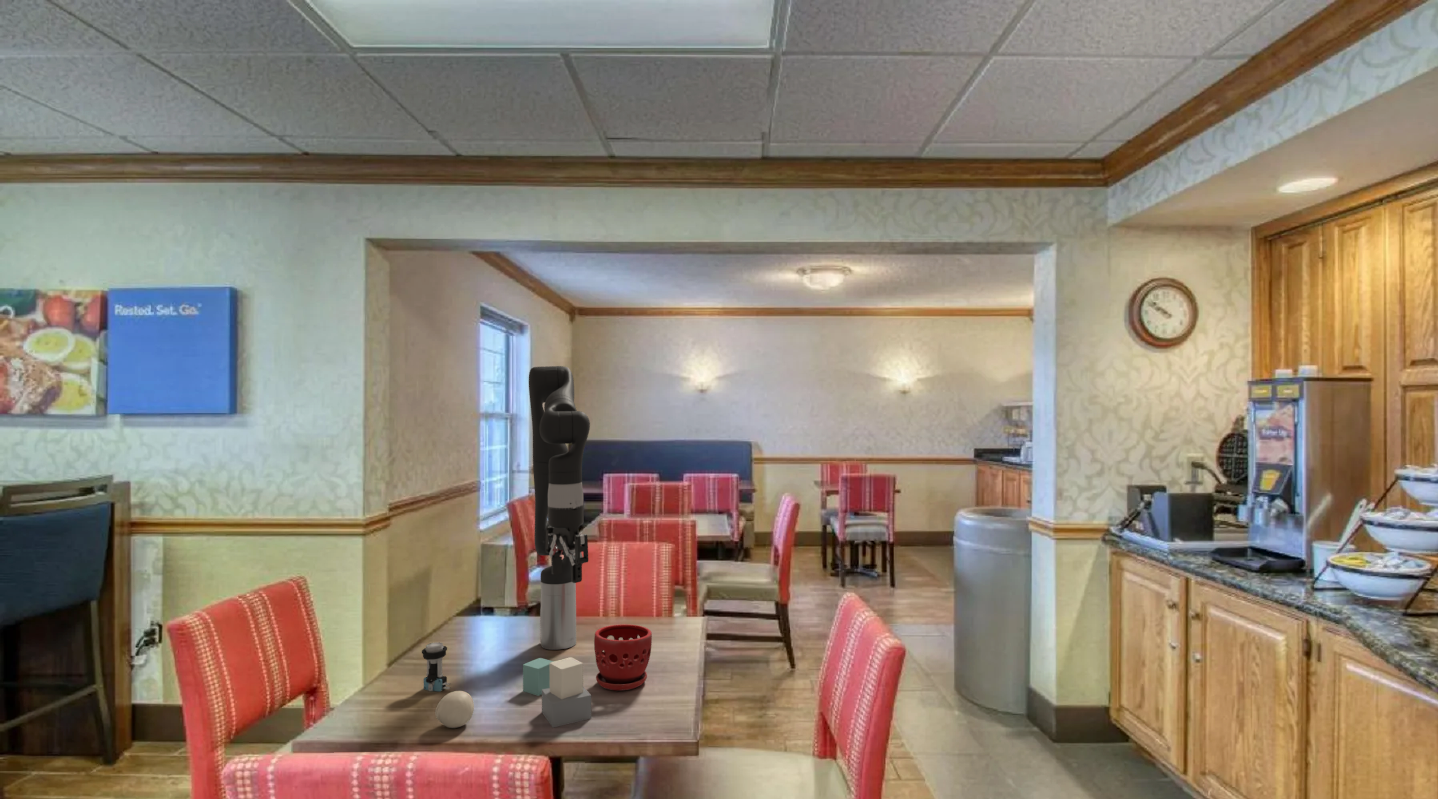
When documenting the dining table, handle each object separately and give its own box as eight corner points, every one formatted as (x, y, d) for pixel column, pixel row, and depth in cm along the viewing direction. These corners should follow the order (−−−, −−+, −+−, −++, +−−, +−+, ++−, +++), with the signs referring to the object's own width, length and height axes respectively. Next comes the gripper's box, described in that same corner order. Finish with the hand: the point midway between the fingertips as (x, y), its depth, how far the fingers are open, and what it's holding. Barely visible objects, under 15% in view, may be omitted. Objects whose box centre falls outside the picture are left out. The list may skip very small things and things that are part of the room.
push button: (457, 686, 160) (457, 642, 160) (441, 695, 155) (441, 650, 155) (432, 683, 162) (432, 640, 162) (416, 692, 157) (416, 647, 157)
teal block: (523, 691, 157) (522, 664, 157) (540, 683, 161) (539, 657, 161) (538, 696, 154) (538, 668, 154) (555, 688, 158) (555, 661, 158)
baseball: (438, 720, 142) (437, 687, 142) (475, 716, 144) (475, 684, 144) (432, 735, 136) (432, 701, 136) (471, 731, 137) (471, 697, 137)
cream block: (549, 691, 144) (549, 662, 145) (571, 685, 148) (570, 656, 148) (561, 699, 141) (561, 669, 141) (583, 692, 144) (583, 663, 144)
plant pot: (627, 699, 152) (627, 644, 152) (582, 687, 159) (582, 634, 159) (663, 679, 163) (662, 627, 163) (619, 668, 170) (619, 619, 170)
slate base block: (541, 713, 146) (541, 689, 146) (579, 705, 150) (578, 681, 150) (552, 728, 139) (552, 703, 139) (591, 719, 143) (591, 695, 143)
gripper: (534, 501, 154) (535, 574, 154) (566, 509, 143) (567, 588, 143) (564, 497, 159) (565, 568, 159) (598, 505, 148) (599, 581, 148)
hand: (566, 578), depth 151 cm, fingers open, 8 cm apart
